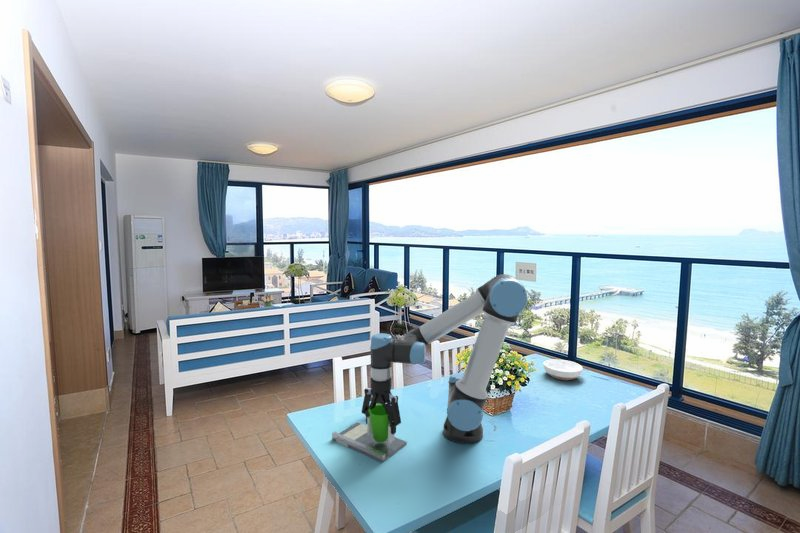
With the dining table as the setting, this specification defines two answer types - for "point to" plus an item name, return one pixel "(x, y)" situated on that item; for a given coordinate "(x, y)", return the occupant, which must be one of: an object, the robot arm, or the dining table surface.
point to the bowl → (562, 369)
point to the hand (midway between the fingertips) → (380, 437)
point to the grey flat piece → (367, 442)
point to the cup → (379, 423)
